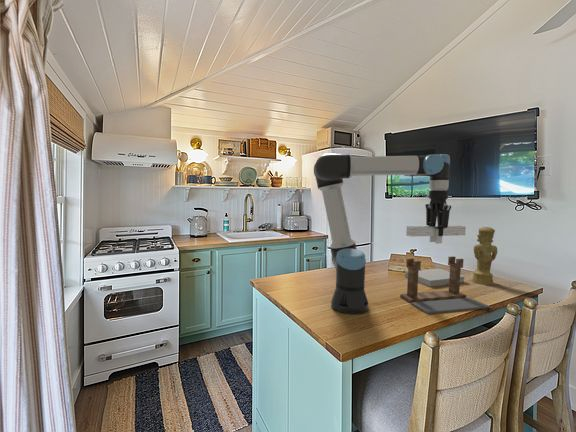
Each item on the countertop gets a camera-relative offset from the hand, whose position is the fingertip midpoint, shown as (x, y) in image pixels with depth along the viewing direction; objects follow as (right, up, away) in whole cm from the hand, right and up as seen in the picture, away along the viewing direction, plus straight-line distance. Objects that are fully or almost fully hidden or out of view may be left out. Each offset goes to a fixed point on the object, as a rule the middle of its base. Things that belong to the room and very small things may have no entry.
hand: (435, 242), depth 130 cm
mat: (+2, -26, -8) cm, 27 cm away
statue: (+39, -24, +26) cm, 52 cm away
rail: (0, +3, 0) cm, 3 cm away
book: (+14, -24, +30) cm, 41 cm away
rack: (0, -25, +2) cm, 25 cm away
